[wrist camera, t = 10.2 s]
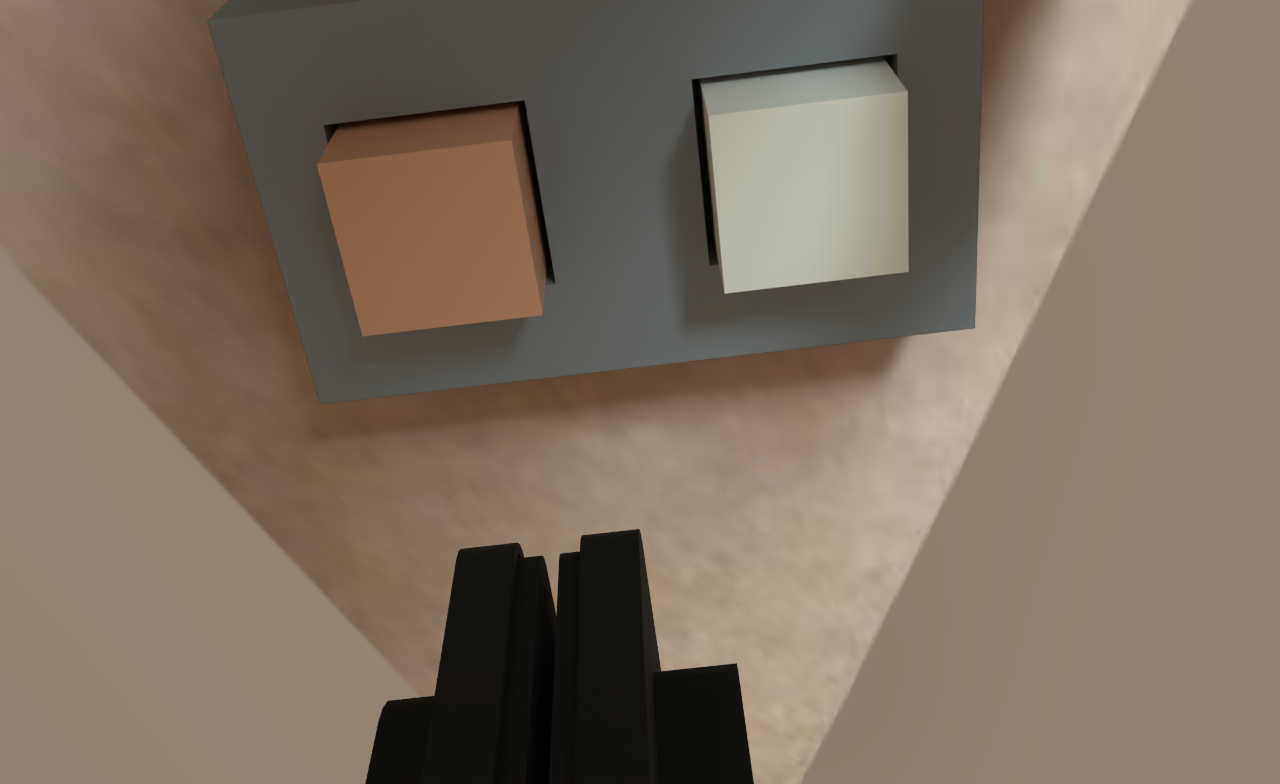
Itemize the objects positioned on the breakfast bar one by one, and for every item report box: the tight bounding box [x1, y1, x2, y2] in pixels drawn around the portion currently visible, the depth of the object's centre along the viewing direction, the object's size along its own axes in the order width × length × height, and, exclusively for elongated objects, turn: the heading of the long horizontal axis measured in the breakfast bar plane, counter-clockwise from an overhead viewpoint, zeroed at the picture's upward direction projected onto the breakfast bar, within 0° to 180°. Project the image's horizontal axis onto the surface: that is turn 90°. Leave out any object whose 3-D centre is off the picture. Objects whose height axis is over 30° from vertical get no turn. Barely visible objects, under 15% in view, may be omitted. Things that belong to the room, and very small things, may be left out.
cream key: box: [698, 56, 909, 294], centre depth 40 cm, size 6×6×5 cm
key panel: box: [207, 0, 984, 404], centre depth 43 cm, size 14×24×5 cm, turn 97°
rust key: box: [317, 101, 548, 336], centre depth 41 cm, size 6×6×5 cm
